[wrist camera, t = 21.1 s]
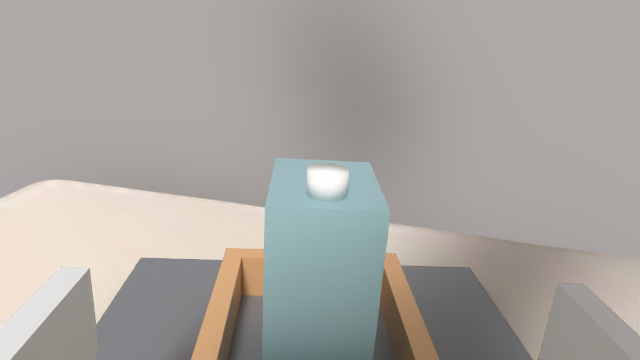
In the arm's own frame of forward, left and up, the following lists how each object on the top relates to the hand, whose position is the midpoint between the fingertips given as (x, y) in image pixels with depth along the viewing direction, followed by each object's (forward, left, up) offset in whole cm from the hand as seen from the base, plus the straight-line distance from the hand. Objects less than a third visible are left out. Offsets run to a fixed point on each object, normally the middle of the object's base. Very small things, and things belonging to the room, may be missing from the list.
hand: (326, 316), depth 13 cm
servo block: (0, -7, -7) cm, 10 cm away
